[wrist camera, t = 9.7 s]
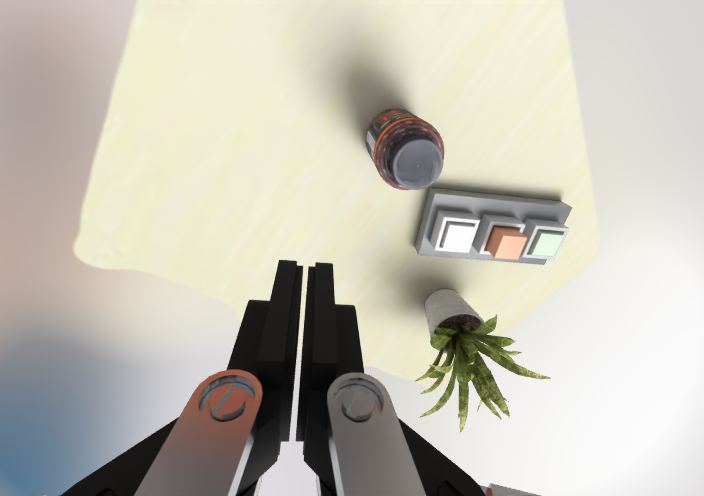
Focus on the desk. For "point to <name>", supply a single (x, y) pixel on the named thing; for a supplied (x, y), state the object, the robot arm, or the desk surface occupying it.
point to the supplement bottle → (405, 149)
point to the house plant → (466, 352)
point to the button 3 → (545, 242)
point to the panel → (487, 222)
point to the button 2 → (505, 242)
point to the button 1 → (456, 235)
